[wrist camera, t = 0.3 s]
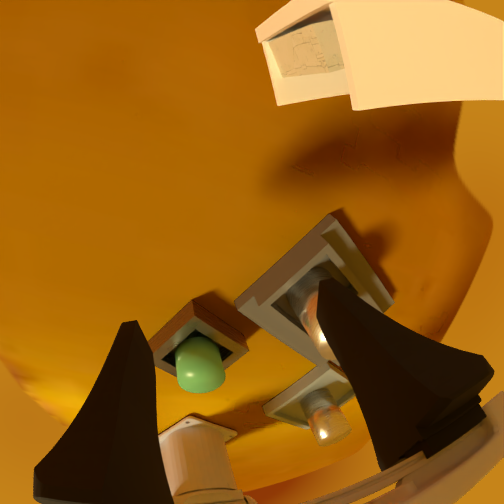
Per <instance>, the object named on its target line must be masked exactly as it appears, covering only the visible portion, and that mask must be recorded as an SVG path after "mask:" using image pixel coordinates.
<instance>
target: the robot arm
mask: <svg viewBox="0 0 504 504" xmlns="http://www.w3.org/2000/svg"><path fill="white" fill-rule="evenodd" d="M316 318H317V320H318V323H319V325H320V328H321V330H322V333H323V335H324V337H325V339H326V341H327V343H328V345H329V346H330V348H331V350H332V352H333V353H334V355H335V357H336V359H337V360H338V362H339V364H340V366H341V367H342V369H343V371H344V373H345V375H346V376H347V378H348V380H349V382H350V384H351V386H352V388H353V391H354V393H355V395H356V398H357V400H358V403H359V405H360V408H361V410H362V413H363V416H364V418H365V421H366V424H367V427H368V430H369V433H370V436H371V439H372V442H373V446H374V450H375V453H376V457H377V461H378V464H379V467H380V469H381V471H382V472H380V473H378V474H376V475H374V476H372V477H370V478H367V479H365V480H363V481H360V482H358V483H356V484H353V485H351V486H348V487H346V488H343V489H341V490H338V491H336V492H333V493H330V494H327V495H325V496H322V497H319V498H316V499H313V500H310V501H306V502H304V503H300V504H349V503H352V502H354V501H357V500H359V499H361V498H364V497H366V496H368V495H370V494H373V493H375V492H377V491H379V490H381V489H383V488H385V487H387V486H389V485H391V484H393V483H395V482H397V481H398V482H397V483H396V487H395V489H393V490H391V491H389V492H388V493H385V494H383V495H381V496H379V497H377V498H375V499H373V500H371V501H369V502H367V503H365V504H454V503H455V502H457V501H458V500H459V499H460V498H461V497H462V496H464V495H465V494H466V493H467V492H468V491H469V490H470V489H472V488H473V487H474V486H475V485H476V484H477V483H478V482H479V481H480V480H481V479H482V478H483V477H484V476H485V475H487V474H488V473H489V472H490V470H491V469H492V468H494V466H495V465H496V464H497V463H498V462H499V461H500V460H501V459H502V458H503V457H504V392H503V391H501V392H500V393H499V394H497V395H496V396H495V397H494V398H493V399H491V400H490V401H489V402H488V403H487V404H485V405H484V406H483V407H482V408H481V406H480V405H479V403H480V402H481V398H480V396H479V395H478V394H479V393H480V391H481V390H482V389H483V388H484V387H485V386H486V385H487V383H488V382H489V381H490V380H491V378H492V377H493V375H494V370H493V368H492V367H491V365H490V364H489V363H488V362H487V360H486V359H485V358H484V356H483V355H478V354H474V353H470V352H466V351H462V350H459V349H456V348H453V347H450V346H447V345H444V344H441V343H439V342H436V341H434V340H431V339H429V338H427V337H424V336H422V335H420V334H418V333H416V332H414V331H412V330H410V329H408V328H406V327H405V326H403V325H401V324H399V323H397V322H396V321H394V320H392V319H391V318H389V317H388V316H386V315H384V314H383V313H381V312H380V311H378V310H377V309H375V308H374V307H372V306H371V305H370V304H368V303H367V302H365V301H364V300H363V299H361V298H360V297H358V296H357V295H356V294H354V293H353V292H352V291H350V290H349V289H348V288H346V287H345V286H344V285H342V284H341V283H340V282H338V281H337V280H336V279H334V278H329V279H325V280H321V281H319V289H318V300H317V311H316ZM237 434H238V433H237V431H234V430H231V429H228V428H225V427H222V426H219V425H216V424H213V423H210V422H207V421H205V420H202V419H199V418H196V417H194V416H188V417H186V418H184V419H183V420H181V421H180V422H178V423H177V424H175V425H174V426H172V427H171V428H169V429H168V430H166V431H164V432H163V433H161V434H160V435H158V429H157V411H156V374H155V365H154V357H153V352H152V350H151V348H150V346H149V344H148V342H147V340H146V338H145V336H144V334H143V332H142V330H141V328H140V326H139V324H138V322H137V320H135V321H129V322H123V323H122V324H121V326H120V328H119V330H118V333H117V335H116V338H115V340H114V342H113V345H112V347H111V349H110V352H109V354H108V356H107V358H106V361H105V363H104V365H103V367H102V370H101V372H100V374H99V376H98V378H97V380H96V382H95V384H94V386H93V388H92V390H91V392H90V394H89V395H88V397H87V399H86V401H85V403H84V404H83V406H82V408H81V409H80V411H79V413H78V414H77V416H76V417H75V419H74V420H73V422H72V423H71V425H70V426H69V428H68V429H67V430H66V432H65V433H64V434H63V436H62V437H61V438H60V440H59V441H58V442H57V443H56V445H55V446H54V447H53V449H52V450H51V451H50V452H49V453H48V454H47V455H46V456H45V457H44V458H43V459H42V460H41V461H40V462H39V463H38V465H37V466H35V468H34V484H33V485H34V486H33V488H34V489H33V491H34V492H33V497H34V499H35V500H36V501H37V502H39V503H41V504H258V503H257V502H256V501H255V500H254V499H253V498H251V497H250V496H248V495H245V496H243V493H242V490H238V489H237V486H236V482H235V479H234V475H233V472H232V468H231V464H230V461H229V457H228V453H227V449H226V446H225V442H226V441H228V440H230V439H232V438H233V437H235V436H236V435H237Z"/></svg>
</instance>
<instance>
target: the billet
mask: <svg viewBox="0 0 504 504" xmlns="http://www.w3.org/2000/svg"><path fill="white" fill-rule="evenodd" d="M300 406H301V408H302V411H303V413H304V415H305V417H306V419H307V421H308V423H309V425H310V428H311V430H312V432H313V434H314V436H315V438H316V440H317V442H318V444H319V446H329V445H332V444H334V443H337V442H339V441H340V440H342V439H344V438H345V437H346V436H347V435H348V434H349V433H350V432H351V430H352V429H351V427H350V425H349V423H348V422H347V420H346V418H345V416H344V415H343V413H342V411H341V409H340V407H339V406H338V404H337V402H336V400H335V399H334V397H333V395H332V393H331V392H330V390H329V389H327V388H321V389H317V390H314V391H312V392H310V393H308V394H307V395H306V396H304V397H303V398H302V400H301V401H300Z"/></svg>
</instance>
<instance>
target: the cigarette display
mask: <svg viewBox="0 0 504 504" xmlns="http://www.w3.org/2000/svg"><path fill="white" fill-rule="evenodd" d="M255 31H256V34H257V38H258V42H259V43H262V45H263V49H264V53H265V56H266V60H267V64H268V68H269V72H270V76H271V80H272V84H273V89H274V93H275V97H276V101H277V106H281V105H286V104H291V103H296V102H301V101H307V100H313V99H318V98H325V97H331V96H338V95H345V94H350V98H351V104H352V109H353V110H358V111H359V110H366V109H373V108H380V107H388V106H397V105H406V104H416V103H428V102H442V101H462V100H504V21H502V20H499V19H497V18H495V17H493V16H490V15H488V14H485V13H483V12H480V11H478V10H475V9H472V8H470V7H467V6H464V5H461V4H458V3H455V2H452V1H449V0H292V1H290V2H289V3H287V4H286V5H285V6H283V7H282V8H281V9H280V10H278V11H277V12H276V13H274V14H273V15H272V16H271V17H269V18H268V19H267V20H266V21H264V22H263V23H262V24H261V25H259V26H258V27H257V28H256V29H255Z"/></svg>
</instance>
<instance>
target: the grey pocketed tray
mask: <svg viewBox="0 0 504 504" xmlns="http://www.w3.org/2000/svg"><path fill="white" fill-rule="evenodd" d="M314 267H319V268H323V269H326V270H327V271H328V272H329V273H330V274H331V275H332V276H333V277H334V278H335V279H336V280H337V281H338V282H340V283H341V284H342V285H344V286H345V287H346V288H348V289H349V290H350V291H352V292H353V293H354V294H356V295H357V296H358V297H360V298H361V299H363V300H364V301H365V302H367V303H368V304H370V305H371V306H372V307H374V308H375V309H377V310H378V311H380V312H381V313H384V312H385V311H386V310H387V309H388V308H389V307H390V306H392V305H393V304H394V303H395V302H394V301H393V299H392V298H391V296H390V295H389V293H388V292H387V290H386V289H385V287H384V286H383V284H382V283H381V281H380V280H379V278H378V277H377V275H376V274H375V272H374V271H373V269H372V268H371V266H370V265H369V264H368V262H367V261H366V259H365V258H364V256H363V255H362V254H361V252H360V251H359V249H358V248H357V247H356V245H355V244H354V242H353V241H352V240H351V238H350V237H349V236H348V234H347V233H346V231H345V230H344V229H343V227H342V226H341V225H340V223H339V222H338V221H337V219H335V218H334V217H333V216H331V215H330V214H328V215H327V216H326V217H325V218H324V219H323V220H322V221H321V222H320V223H319V224H318V225H316V226H315V227H314V228H313V229H312V230H311V231H310V232H309V233H308V234H307V235H306V236H305V237H304V238H303V239H301V240H300V241H299V242H298V243H297V244H296V245H295V246H294V247H293V248H292V249H291V250H290V251H289V252H287V253H286V254H285V255H284V256H283V257H282V258H281V259H280V260H279V261H278V262H277V263H276V264H274V265H273V266H272V267H271V268H270V269H269V270H268V271H267V272H266V273H265V274H263V275H262V276H261V277H260V278H259V279H258V280H257V281H256V282H255V283H254V284H253V285H251V286H250V287H249V288H248V289H247V290H246V291H245V292H244V293H243V294H241V295H240V296H239V297H238V298H237V299H236V300H235V301H234V302H235V305H236V308H237V310H238V311H239V312H241V313H242V314H243V315H245V316H246V317H248V318H249V319H250V320H252V321H253V322H255V323H256V324H257V325H259V326H260V327H262V328H263V329H264V330H266V331H267V332H269V333H270V334H272V335H273V336H275V337H276V338H277V339H279V340H280V341H282V342H283V343H285V344H286V345H288V346H289V347H291V348H292V349H293V350H295V351H296V352H298V353H299V354H301V355H302V356H304V357H305V358H307V359H308V360H310V361H311V362H313V363H314V364H316V365H317V366H319V367H321V366H323V365H324V364H325V363H326V362H328V361H329V360H328V359H325V358H323V357H322V356H321V355H320V353H319V351H318V350H317V348H316V346H315V345H314V343H313V341H312V340H311V338H310V336H309V335H308V333H307V331H306V330H305V328H304V326H303V325H302V323H301V322H300V320H299V318H298V317H297V315H296V313H295V312H294V310H293V308H292V307H291V305H290V303H289V302H288V299H287V290H288V289H289V288H290V287H292V286H293V285H294V284H295V283H296V282H297V281H298V280H299V279H300V278H301V277H303V276H304V275H305V274H306V273H307V272H308V271H309V270H310V269H311V268H314ZM331 361H332V362H333V363H335V364H336V365H338V366H340V364H339V362H338V360H331Z"/></svg>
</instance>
